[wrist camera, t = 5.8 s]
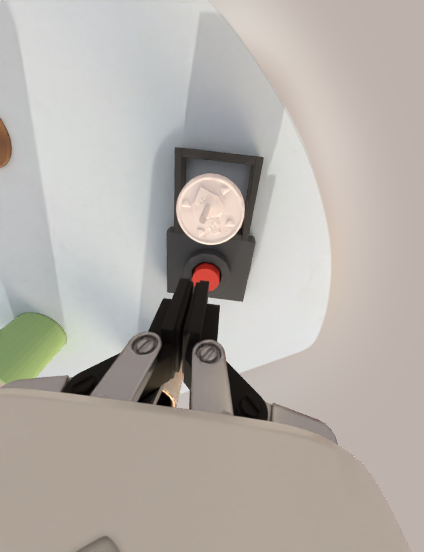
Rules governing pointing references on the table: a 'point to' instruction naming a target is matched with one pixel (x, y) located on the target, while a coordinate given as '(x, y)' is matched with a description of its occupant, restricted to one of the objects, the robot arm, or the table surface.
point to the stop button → (206, 275)
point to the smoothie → (210, 209)
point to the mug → (28, 346)
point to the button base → (225, 256)
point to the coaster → (4, 145)
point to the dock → (227, 157)
